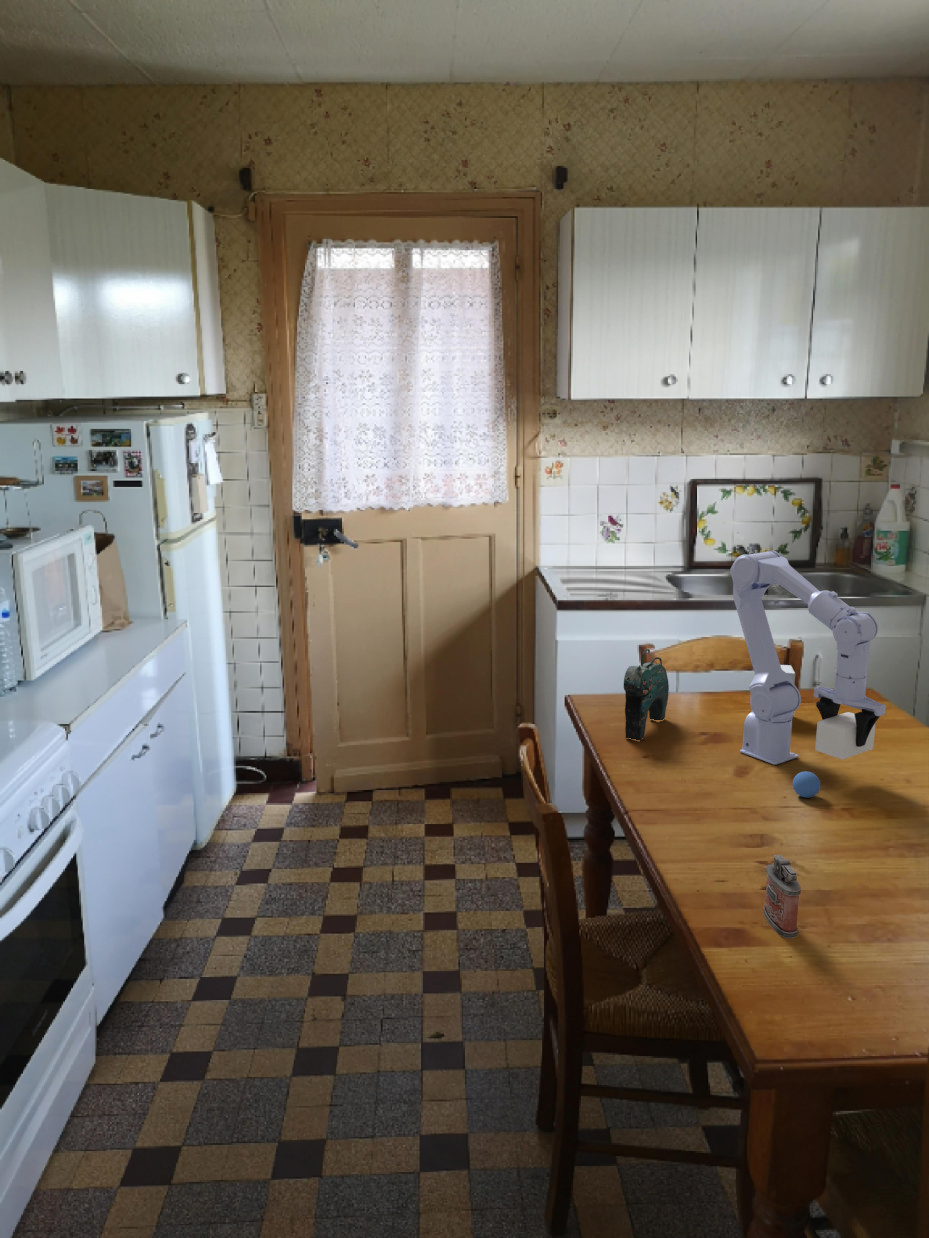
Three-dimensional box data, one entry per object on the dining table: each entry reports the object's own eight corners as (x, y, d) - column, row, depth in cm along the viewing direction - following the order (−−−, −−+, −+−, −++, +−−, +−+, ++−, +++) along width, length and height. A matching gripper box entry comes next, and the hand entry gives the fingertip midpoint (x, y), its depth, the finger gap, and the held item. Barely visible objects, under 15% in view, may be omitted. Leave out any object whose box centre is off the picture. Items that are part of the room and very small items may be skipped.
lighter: (758, 909, 144) (762, 848, 142) (779, 907, 145) (784, 847, 142) (779, 938, 137) (784, 875, 134) (802, 937, 137) (807, 874, 134)
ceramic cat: (641, 745, 211) (644, 659, 206) (614, 740, 214) (616, 655, 210) (672, 719, 227) (676, 638, 223) (647, 715, 231) (649, 635, 226)
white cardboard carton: (842, 759, 184) (845, 730, 182) (815, 750, 189) (817, 721, 187) (873, 748, 189) (875, 720, 188) (845, 739, 194) (848, 711, 193)
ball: (796, 763, 184) (806, 776, 187) (784, 784, 183) (794, 797, 186) (819, 770, 181) (828, 784, 183) (807, 792, 179) (816, 805, 182)
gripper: (806, 669, 189) (801, 733, 192) (872, 687, 177) (866, 755, 180) (828, 663, 193) (822, 726, 196) (894, 681, 181) (887, 747, 184)
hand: (845, 740), depth 188 cm, fingers closed on white cardboard carton, 6 cm apart
